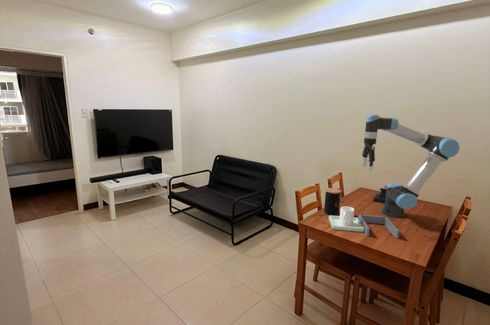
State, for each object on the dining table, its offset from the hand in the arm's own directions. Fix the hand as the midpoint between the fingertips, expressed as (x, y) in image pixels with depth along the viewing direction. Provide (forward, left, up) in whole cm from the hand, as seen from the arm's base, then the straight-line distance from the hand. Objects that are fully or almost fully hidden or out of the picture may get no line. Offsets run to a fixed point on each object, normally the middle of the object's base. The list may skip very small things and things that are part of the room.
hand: (366, 168), depth 181 cm
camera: (-30, -42, -37) cm, 64 cm away
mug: (+14, +15, -36) cm, 41 cm away
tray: (+14, +14, -37) cm, 42 cm away
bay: (-5, +17, -37) cm, 41 cm away
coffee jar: (+20, -6, -37) cm, 42 cm away
